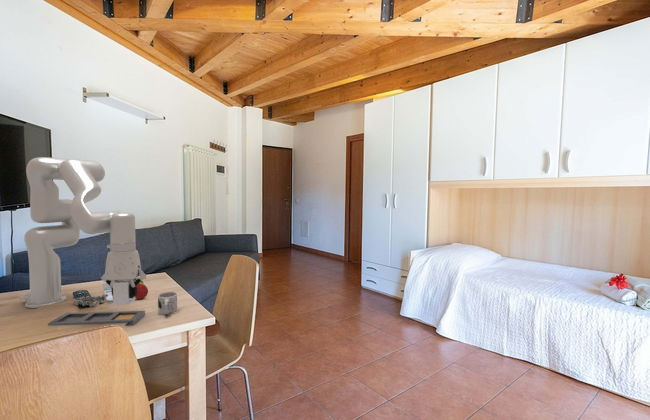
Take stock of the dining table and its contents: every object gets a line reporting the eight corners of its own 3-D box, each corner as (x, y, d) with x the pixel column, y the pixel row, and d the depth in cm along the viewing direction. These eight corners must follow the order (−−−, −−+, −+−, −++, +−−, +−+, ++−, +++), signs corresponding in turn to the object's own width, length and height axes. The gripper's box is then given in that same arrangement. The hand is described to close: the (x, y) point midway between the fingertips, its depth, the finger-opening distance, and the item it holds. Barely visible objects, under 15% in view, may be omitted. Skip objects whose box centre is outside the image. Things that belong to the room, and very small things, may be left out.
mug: (159, 309, 124) (159, 292, 124) (177, 307, 126) (177, 291, 126) (155, 319, 115) (155, 301, 114) (175, 316, 117) (175, 299, 117)
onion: (151, 298, 136) (150, 280, 135) (142, 303, 130) (141, 284, 130) (138, 297, 136) (138, 279, 136) (129, 302, 131) (128, 283, 130)
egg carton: (109, 304, 129) (109, 294, 129) (92, 310, 122) (92, 300, 122) (89, 301, 132) (89, 291, 131) (71, 307, 124) (71, 297, 124)
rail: (48, 328, 105) (47, 323, 105) (66, 317, 114) (66, 313, 114) (133, 325, 109) (133, 320, 109) (144, 314, 118) (144, 310, 118)
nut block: (113, 305, 110) (112, 282, 109) (120, 300, 114) (120, 278, 114) (128, 304, 110) (128, 282, 110) (135, 299, 115) (134, 278, 115)
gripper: (90, 249, 106) (92, 301, 107) (144, 249, 109) (145, 300, 110) (103, 245, 114) (104, 294, 115) (153, 245, 116) (154, 293, 117)
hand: (124, 296), depth 112 cm, fingers closed on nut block, 5 cm apart
